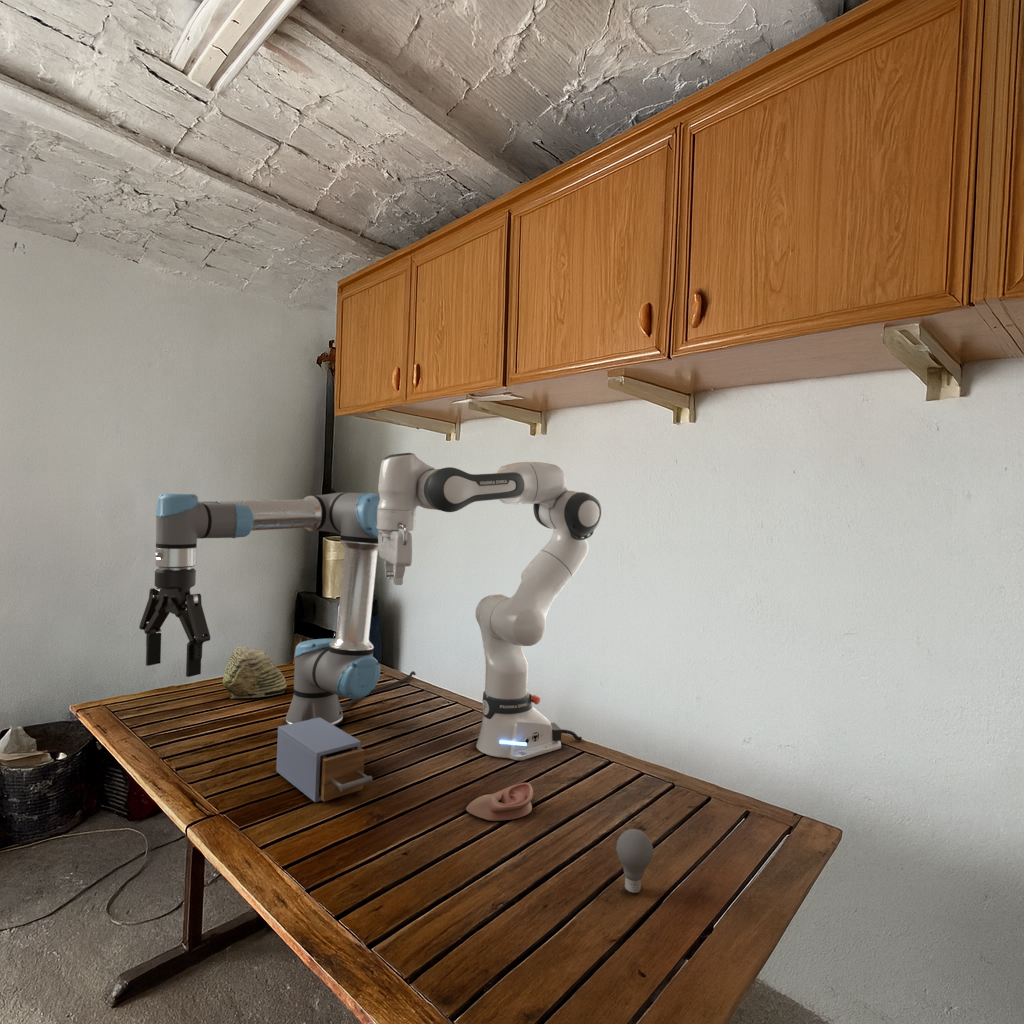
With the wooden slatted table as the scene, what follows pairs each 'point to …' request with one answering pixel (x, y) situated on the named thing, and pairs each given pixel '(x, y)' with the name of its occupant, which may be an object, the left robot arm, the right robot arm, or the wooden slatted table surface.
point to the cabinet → (309, 752)
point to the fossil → (252, 674)
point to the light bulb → (634, 857)
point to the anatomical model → (503, 803)
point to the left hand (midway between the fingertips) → (172, 669)
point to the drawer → (342, 773)
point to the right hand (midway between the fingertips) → (393, 581)
